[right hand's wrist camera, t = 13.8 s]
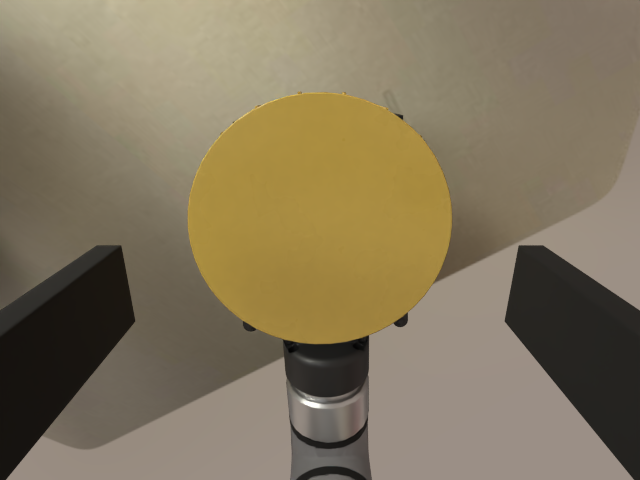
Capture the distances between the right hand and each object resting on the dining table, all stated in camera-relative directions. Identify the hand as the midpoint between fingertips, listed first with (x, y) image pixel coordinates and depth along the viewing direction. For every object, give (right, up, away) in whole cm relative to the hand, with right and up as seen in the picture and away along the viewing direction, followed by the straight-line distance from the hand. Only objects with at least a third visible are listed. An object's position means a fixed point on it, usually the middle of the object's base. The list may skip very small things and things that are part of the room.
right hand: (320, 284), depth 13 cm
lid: (0, +2, +5) cm, 5 cm away
